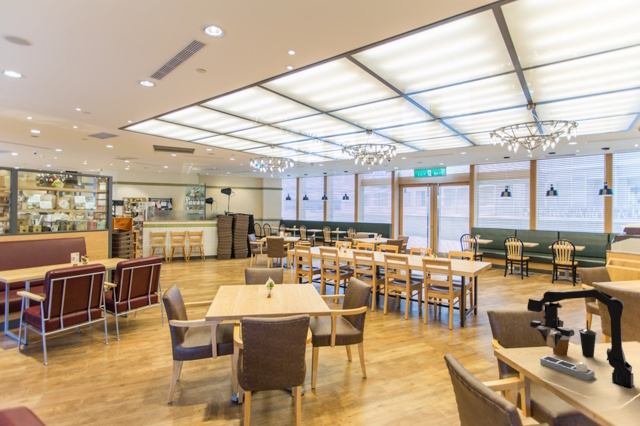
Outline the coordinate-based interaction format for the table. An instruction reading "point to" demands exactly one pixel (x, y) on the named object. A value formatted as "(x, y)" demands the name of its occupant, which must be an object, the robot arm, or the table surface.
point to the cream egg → (581, 367)
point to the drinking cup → (587, 342)
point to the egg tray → (566, 367)
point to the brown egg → (551, 341)
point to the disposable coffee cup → (561, 345)
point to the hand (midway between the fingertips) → (551, 344)
